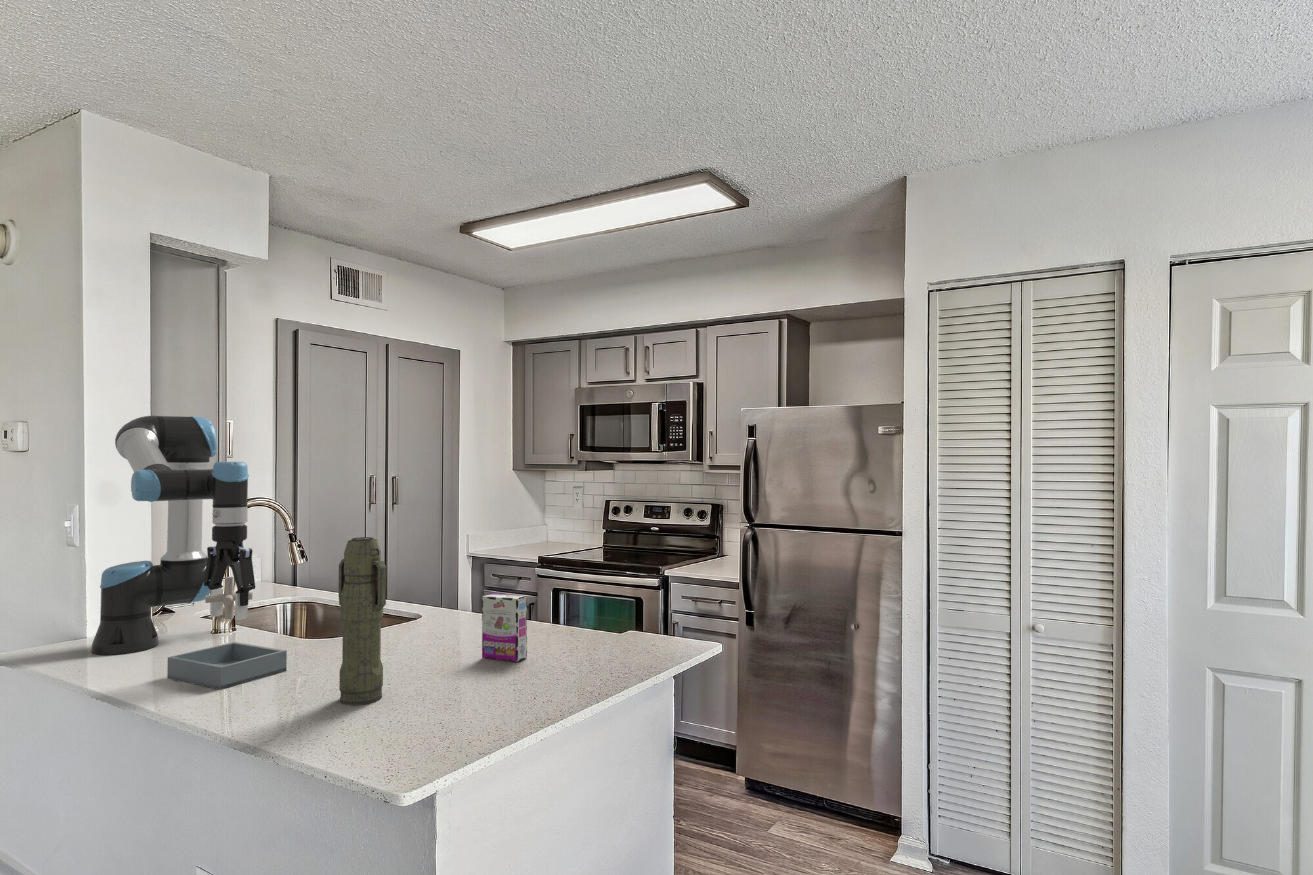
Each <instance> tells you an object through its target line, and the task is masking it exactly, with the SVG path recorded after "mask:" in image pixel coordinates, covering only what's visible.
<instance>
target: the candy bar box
mask: <svg viewBox="0 0 1313 875" xmlns="http://www.w3.org/2000/svg"><path fill="white" fill-rule="evenodd" d="M527 606H528V596H527V595H516V594H503V593H502V594H501V593H500V594H499V593H489V594H487V595H482V597H481V610H482V613H481V614H482V615H481V616H482V617H481V619H482V620H481V625H482V626H481V627H482V630H481V634H482V635H481V643H482V644H481V658H482V659H483V658H485V660H492V661H493V660H494V661H501V660H503V662H513V663H518V662H521V661H523V660H526V659H527V657H528V647H527V644H528V639H527V638H528V636H527V635H528V628H527V627H528V626H527V623H528V621H527V620H528V613H527V610H528V607H527ZM525 658H526V659H525Z"/></svg>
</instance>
